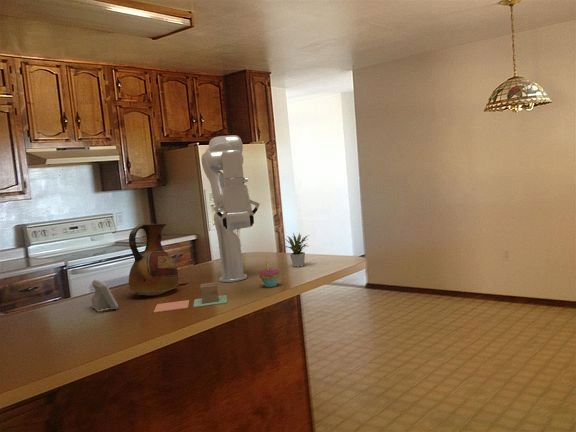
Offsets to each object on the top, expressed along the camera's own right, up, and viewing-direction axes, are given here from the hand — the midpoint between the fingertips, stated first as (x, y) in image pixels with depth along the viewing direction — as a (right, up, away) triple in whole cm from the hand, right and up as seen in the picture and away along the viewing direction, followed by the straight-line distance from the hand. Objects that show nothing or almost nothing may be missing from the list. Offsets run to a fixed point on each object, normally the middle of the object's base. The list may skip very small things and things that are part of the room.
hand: (239, 227), depth 199 cm
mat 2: (-10, -27, -6) cm, 30 cm away
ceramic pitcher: (-37, -28, +18) cm, 50 cm away
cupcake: (+12, -24, +11) cm, 29 cm away
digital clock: (-51, -31, +1) cm, 60 cm away
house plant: (+24, -20, +48) cm, 57 cm away
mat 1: (-24, -29, -8) cm, 38 cm away
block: (-10, -27, -6) cm, 30 cm away
